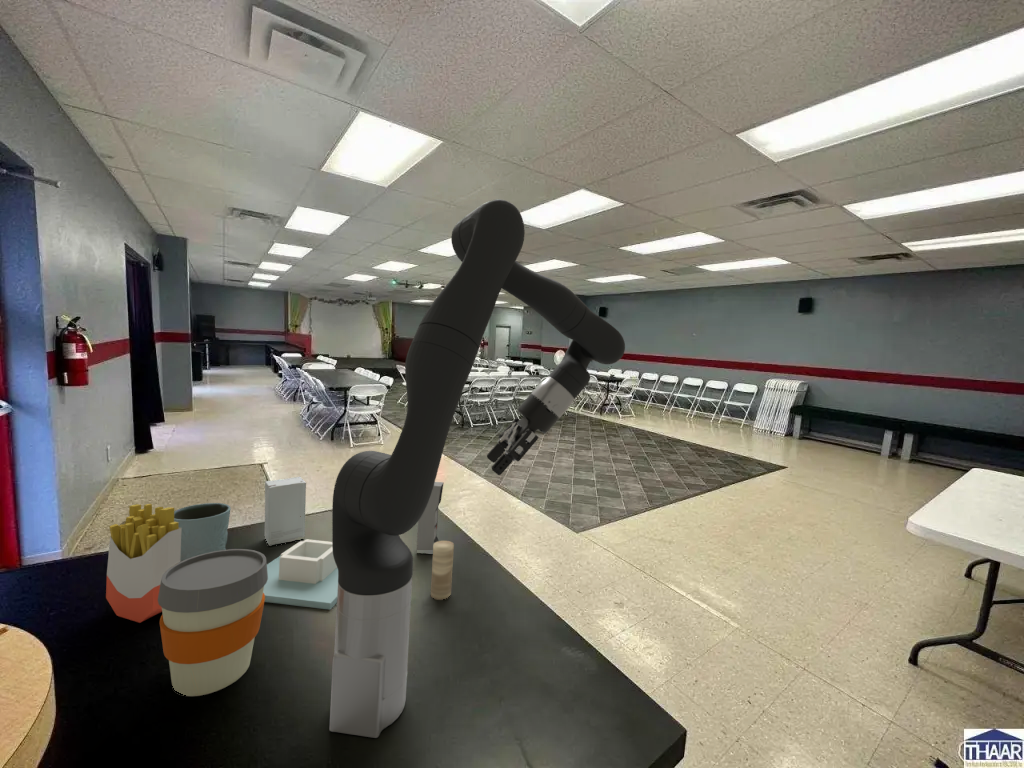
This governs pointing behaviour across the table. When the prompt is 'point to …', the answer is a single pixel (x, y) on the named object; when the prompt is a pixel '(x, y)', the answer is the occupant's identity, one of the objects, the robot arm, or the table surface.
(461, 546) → the table surface
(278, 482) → the skincare box
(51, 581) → the table surface
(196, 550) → the blue embossed cup
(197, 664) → the reusable coffee cup
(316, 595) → the sleeve holder
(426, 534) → the vintage mobile phone
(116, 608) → the french fries container
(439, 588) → the maple peg
